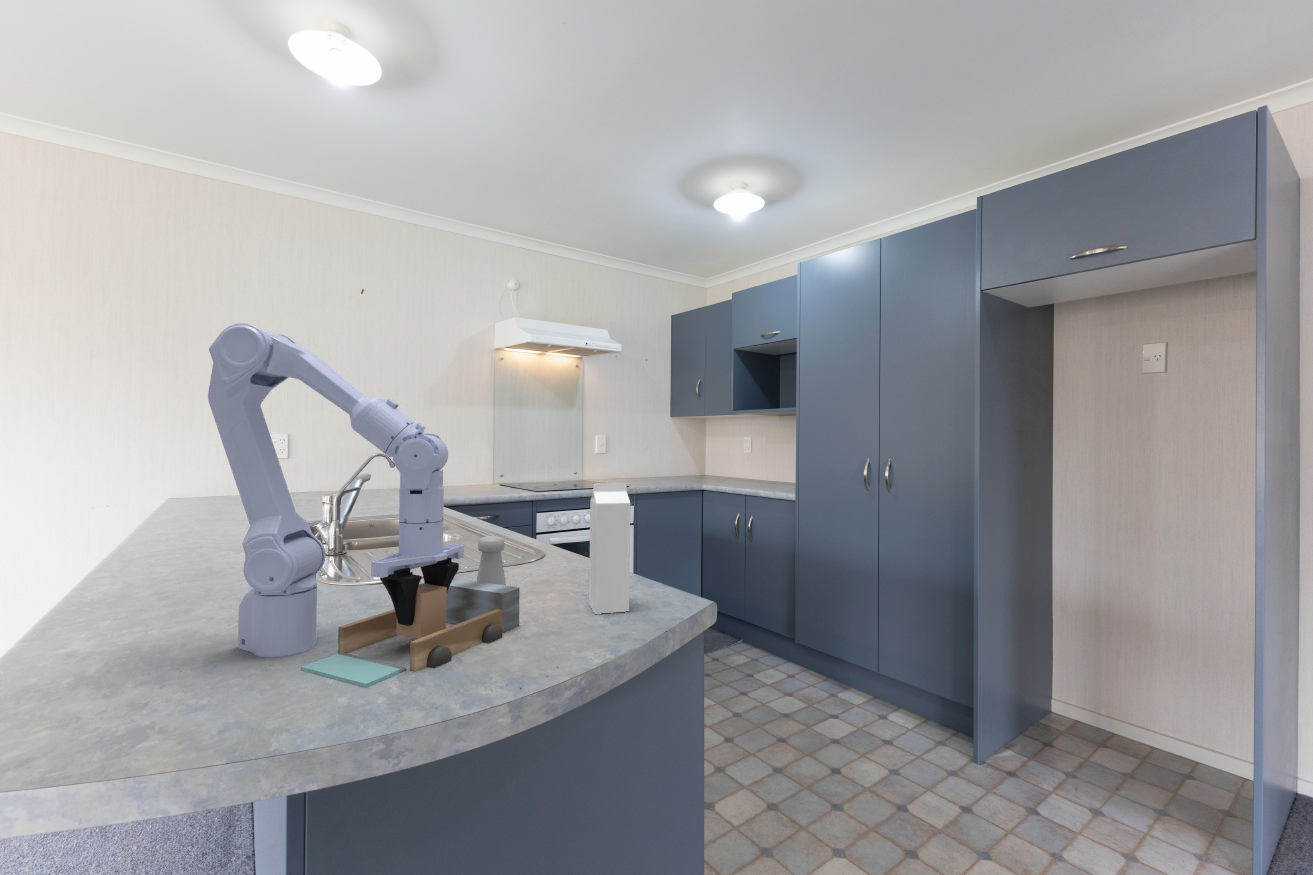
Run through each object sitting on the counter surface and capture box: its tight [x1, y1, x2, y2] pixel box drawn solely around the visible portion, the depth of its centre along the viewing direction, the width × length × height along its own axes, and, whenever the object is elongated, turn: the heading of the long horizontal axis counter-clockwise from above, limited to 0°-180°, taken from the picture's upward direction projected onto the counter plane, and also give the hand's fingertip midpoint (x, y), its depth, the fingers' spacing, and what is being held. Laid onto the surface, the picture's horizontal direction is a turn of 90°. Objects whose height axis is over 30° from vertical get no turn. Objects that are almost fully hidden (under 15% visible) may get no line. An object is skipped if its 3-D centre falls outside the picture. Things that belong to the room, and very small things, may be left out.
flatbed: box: [337, 577, 521, 672], centre depth 85 cm, size 16×20×7 cm
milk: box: [588, 482, 631, 615], centre depth 104 cm, size 6×6×22 cm
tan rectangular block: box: [396, 582, 447, 640], centre depth 82 cm, size 4×4×6 cm
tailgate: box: [300, 652, 407, 689], centre depth 73 cm, size 11×1×6 cm
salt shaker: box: [476, 535, 507, 586], centre depth 100 cm, size 6×6×13 cm
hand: (420, 619), depth 82 cm, fingers closed on tan rectangular block, 4 cm apart
